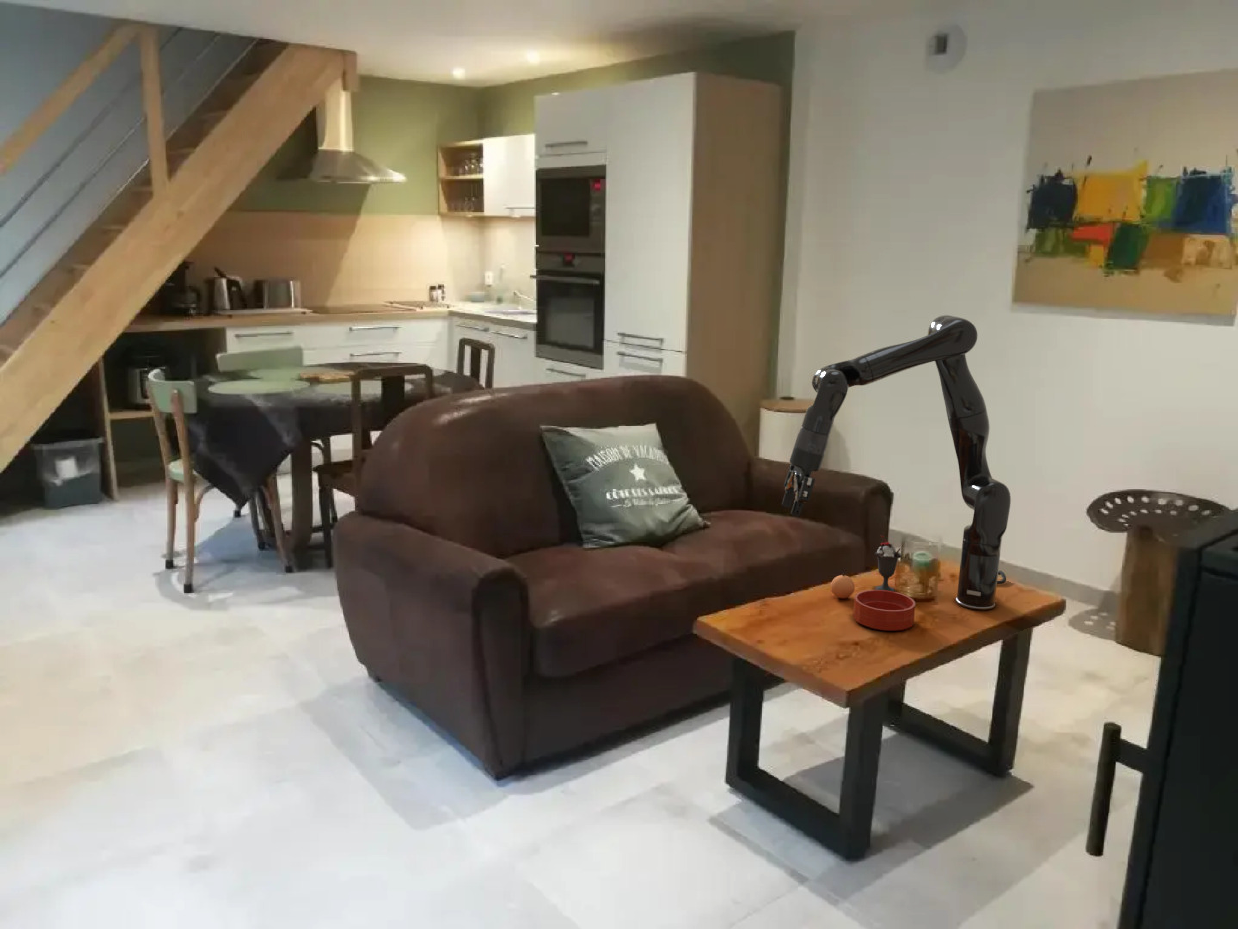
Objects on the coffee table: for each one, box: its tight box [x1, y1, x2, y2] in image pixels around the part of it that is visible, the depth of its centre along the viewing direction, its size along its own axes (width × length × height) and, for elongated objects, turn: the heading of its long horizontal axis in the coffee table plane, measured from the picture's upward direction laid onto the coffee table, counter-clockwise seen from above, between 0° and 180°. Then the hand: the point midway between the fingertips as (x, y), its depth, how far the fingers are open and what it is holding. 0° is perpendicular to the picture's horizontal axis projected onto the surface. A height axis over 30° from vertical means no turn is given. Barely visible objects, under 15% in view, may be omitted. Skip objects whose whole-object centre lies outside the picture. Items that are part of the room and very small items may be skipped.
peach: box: [830, 572, 855, 599], centre depth 252 cm, size 6×6×7 cm
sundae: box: [874, 534, 902, 592], centre depth 257 cm, size 7×7×15 cm
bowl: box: [852, 589, 916, 632], centre depth 236 cm, size 14×14×6 cm
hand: (790, 511), depth 238 cm, fingers open, 8 cm apart
